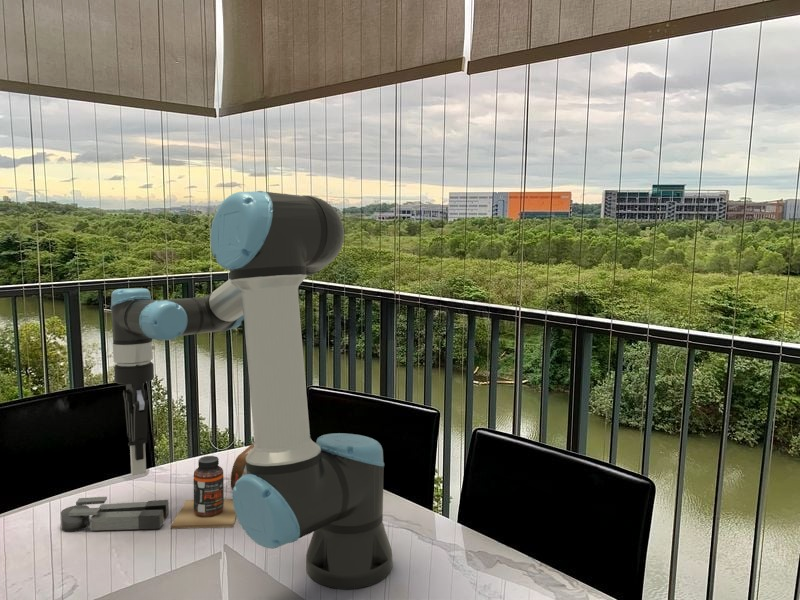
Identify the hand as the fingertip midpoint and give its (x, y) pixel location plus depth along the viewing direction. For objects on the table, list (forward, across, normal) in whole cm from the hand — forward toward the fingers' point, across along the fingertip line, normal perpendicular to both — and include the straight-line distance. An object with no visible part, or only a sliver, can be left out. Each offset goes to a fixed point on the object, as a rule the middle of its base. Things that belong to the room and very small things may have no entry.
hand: (138, 473), depth 127 cm
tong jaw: (+8, -3, +4) cm, 9 cm away
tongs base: (+8, -5, +6) cm, 11 cm away
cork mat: (+8, -10, -11) cm, 17 cm away
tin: (+8, 0, -24) cm, 25 cm away
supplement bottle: (+8, -10, -11) cm, 17 cm away
